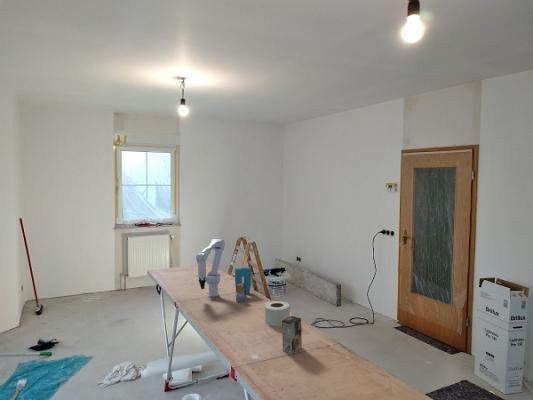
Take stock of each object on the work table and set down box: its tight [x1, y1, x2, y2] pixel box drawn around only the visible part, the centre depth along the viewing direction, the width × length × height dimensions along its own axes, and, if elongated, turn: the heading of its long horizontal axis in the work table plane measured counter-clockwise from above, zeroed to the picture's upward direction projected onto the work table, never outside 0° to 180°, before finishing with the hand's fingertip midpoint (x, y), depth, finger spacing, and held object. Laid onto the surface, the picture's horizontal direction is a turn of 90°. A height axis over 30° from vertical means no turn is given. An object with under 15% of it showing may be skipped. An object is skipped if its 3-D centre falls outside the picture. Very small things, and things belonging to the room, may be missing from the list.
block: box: [234, 266, 252, 295], centre depth 304 cm, size 12×5×20 cm, turn 114°
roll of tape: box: [264, 300, 291, 327], centre depth 243 cm, size 16×15×11 cm
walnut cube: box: [235, 284, 245, 293], centre depth 286 cm, size 5×5×5 cm
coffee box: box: [281, 315, 303, 354], centre depth 203 cm, size 9×6×16 cm
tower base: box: [235, 296, 246, 303], centre depth 287 cm, size 6×6×4 cm
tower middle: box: [235, 291, 245, 298], centre depth 286 cm, size 6×6×4 cm
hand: (202, 287), depth 286 cm, fingers open, 7 cm apart
